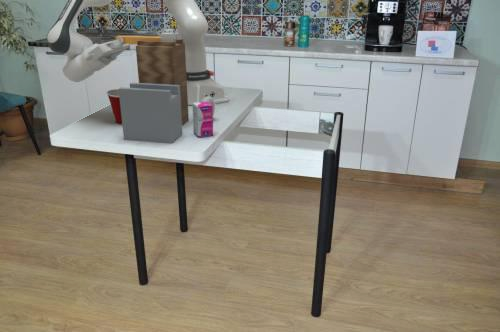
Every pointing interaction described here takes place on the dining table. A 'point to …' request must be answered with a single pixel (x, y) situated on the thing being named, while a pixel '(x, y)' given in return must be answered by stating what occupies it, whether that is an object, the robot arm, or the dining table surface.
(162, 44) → the walnut post
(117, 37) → the orange squared block
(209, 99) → the donut
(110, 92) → the plastic cup
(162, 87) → the block
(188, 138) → the dining table surface
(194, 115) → the supplement box
